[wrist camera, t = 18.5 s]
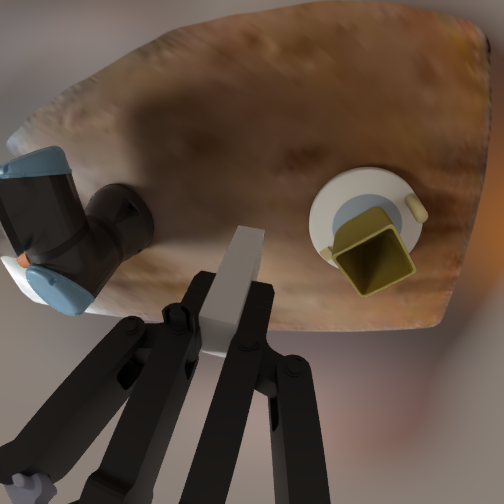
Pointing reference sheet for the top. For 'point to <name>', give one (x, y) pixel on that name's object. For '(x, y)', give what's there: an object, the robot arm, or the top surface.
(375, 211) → the flower pot
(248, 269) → the robot arm
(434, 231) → the top surface
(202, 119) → the top surface
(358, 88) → the top surface
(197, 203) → the top surface
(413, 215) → the disc
